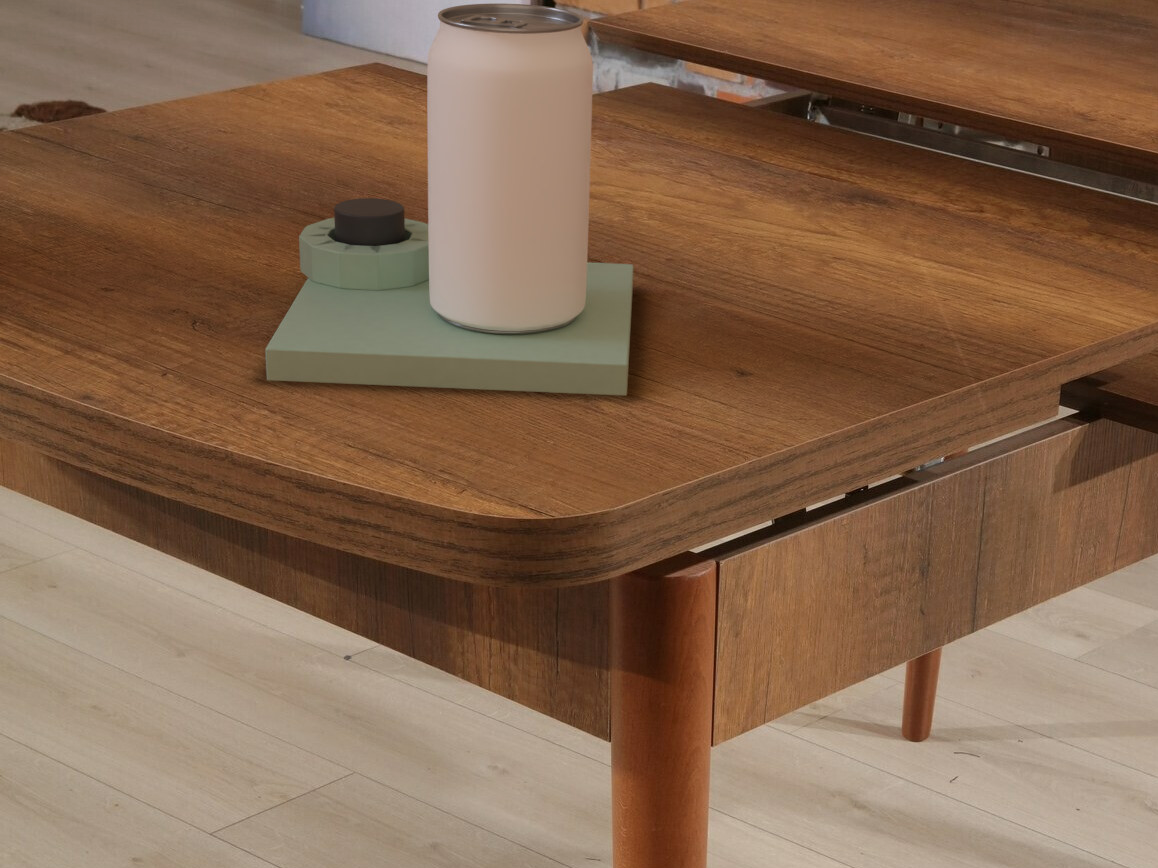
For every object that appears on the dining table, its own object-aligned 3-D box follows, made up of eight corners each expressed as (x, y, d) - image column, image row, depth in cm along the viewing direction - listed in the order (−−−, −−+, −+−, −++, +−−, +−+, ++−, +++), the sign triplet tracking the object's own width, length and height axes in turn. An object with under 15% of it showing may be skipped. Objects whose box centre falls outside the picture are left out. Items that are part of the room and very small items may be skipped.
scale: (254, 381, 69) (250, 308, 68) (316, 276, 81) (314, 212, 80) (626, 397, 69) (629, 324, 68) (632, 290, 81) (635, 226, 80)
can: (550, 347, 70) (557, 37, 65) (401, 323, 72) (397, 19, 67) (608, 300, 76) (618, 12, 71) (469, 279, 77) (469, -4, 72)
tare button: (329, 250, 76) (328, 215, 75) (341, 230, 79) (340, 196, 78) (399, 253, 76) (399, 218, 75) (409, 233, 79) (408, 199, 78)
